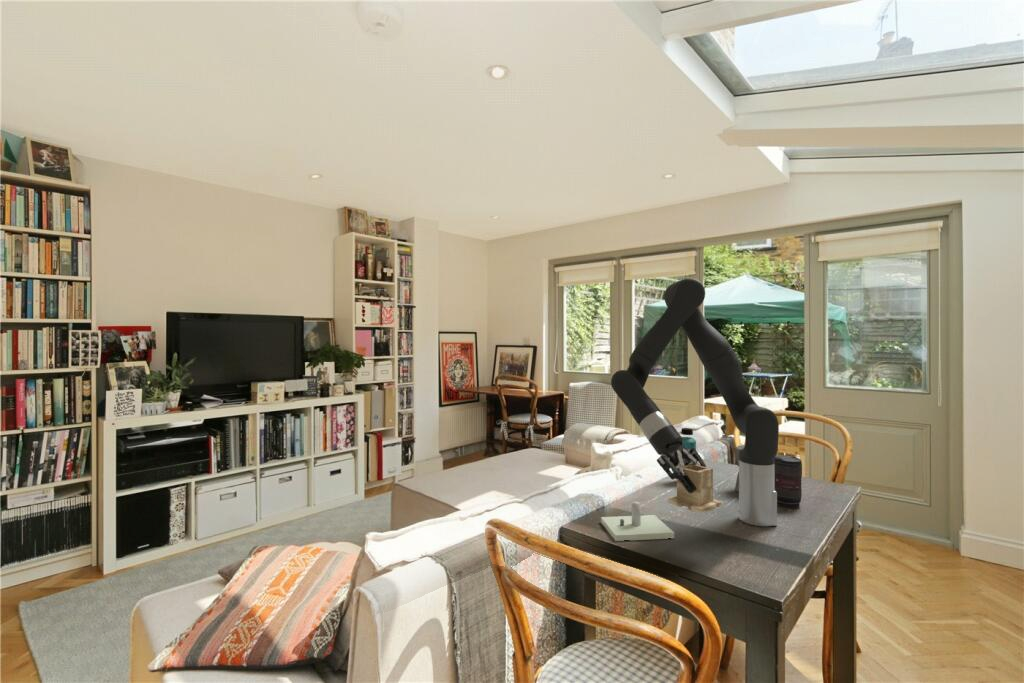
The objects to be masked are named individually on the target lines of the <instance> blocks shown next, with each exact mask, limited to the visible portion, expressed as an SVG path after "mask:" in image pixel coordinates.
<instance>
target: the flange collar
mask: <svg viewBox="0 0 1024 683" xmlns="http://www.w3.org/2000/svg"><path fill="white" fill-rule="evenodd" d="M699 465H700V464H699ZM699 465H691V464H688V465H685V466H684V469H683V470H684V471H685V472H686V475H685V476H688V477H689V478H690V480H691V481H692V483H693V484H694V485H695V487H696V490H695V491H694V492H693V493H689V492H688V491H687V490H686V489H685V487H684V486H683V485H682V483H681V482H680V481H678V480H677V479H676V496H674V497H670V498H668V499H667V503H668V504H670V505H673V506H676V507H679V508H682V507H687V510H689V511H692V512H694V513H698V514H704V513H706V512H708V511H711V510H715V509H717V508H719V507H723V501H722V500H717V499H714V469H713V467H707V466H706V467H704V466H699ZM678 471H679V472H680V470H678Z"/></svg>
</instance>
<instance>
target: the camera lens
mask: <svg viewBox="0 0 1024 683" xmlns="http://www.w3.org/2000/svg"><path fill="white" fill-rule="evenodd" d="M802 477H803V463H802V459H801V458H800V457H796V456H791V455H783V454H782V455H781V454H779V455H778V454H777V455H776V457H775V491H776V492H777V507H782V508H787V509H797V508H800V505H801V504H800V503H801V502H802V497H803V496H802V495H803V493H802Z"/></svg>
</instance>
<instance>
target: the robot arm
mask: <svg viewBox="0 0 1024 683" xmlns="http://www.w3.org/2000/svg"><path fill="white" fill-rule="evenodd" d="M705 298H706V288H705V286H704V285H703V283H702V282H701V281H700V280H698V279H696V278H691V277H688V278H684V279H680V280H678V281H675V282H673V283H672V284H670V285H668V286H667V287H666V288H665V291H664V295H663V299H664V303H665V305H666V307H667V308H666V310H664V312H663V314H662V315H661V316H660V317H659V319H658V320H657V321H656V322H655V323H654V324H653V325H652V327H651V328H649V330H648V331H647V332H646V333H645V334H644V335H643V337H642V338H641V339H640V341H639V342H638V344H637V345H636V347H635V348H634V350H633V351H632V353H631V354H630V356H629V357H628V358H629V359H628V363H629V364H628V367H627V370H626V369H619V370H617V371H616V372H615V373H613V374H612V377H611V380H610V386H611V388H612V390H613V391H614V393H615V394H616V396H618V398H619V400H620V401H621V402H622V403H623V404H624V406H625V407H627V409H628V411H629V413H630V414H631V416H632V418H633V419H634V421H635V422H636V424H638V426H639V428H640V429H641V431H642V434H643V435H644V436H645V438H646V439H647V441H648V442H649V443H650V445H651V447H652V448H653V449H654V451H655V452H656V453H657V455H659V457H658V458H657V459H656V462H657V463H658V465H659V466H660V467H661V468H662V470H663V471H664V473H666V474H667V476H668V477H669V478H670V479H671V480H676V481H677V480H678V481H680V482H681V483H682V485H683V486H684V487H685V489H686V490H687V491H688V492H689V493H693V492H694V491H695V490H696V487H695V485H694V484H693V483H692V481H691V480H690V478H689V477H688V476H685V475H686V472H685V471H684V470H683V469H684V466H685V465H688V464H689V463H690V461H691V463H690V464H691V465H699V466H704V467H707V465H706V463H705V462H704V460H703V458H702V457H701V456H700V454H699V452H698V451H697V448H696V449H695V448H693V447H692V448H691V449H686V448H685V447H684V446H683V445H682V441H683V438H682V437H683V436H682V435H681V433H679V431H678V430H677V429H676V427H675V426H674V424H672V422H671V421H670V419H668V417H667V416H666V415H665V414H664V413H663V412H662V410H661V409H660V408H659V407H658V405H657V404H656V403H655V401H654V400H653V398H651V397H650V396H649V395H648V394H647V392H646V391H645V388H644V387H645V385H646V383H647V381H648V378H649V376H650V373H651V371H652V370H653V368H654V367H655V365H656V364H657V362H658V361H659V359H660V358H661V356H662V354H663V353H664V351H665V350H666V349H667V347H668V345H669V343H671V341H672V339H673V338H674V337H675V335H676V334H677V333H678V331H680V329H681V328H682V329H683V331H684V333H685V334H686V336H687V338H688V340H689V342H690V344H691V346H692V347H693V349H694V351H695V352H696V355H697V356H698V358H699V360H700V362H701V364H702V365H703V367H704V369H705V370H706V372H707V374H708V375H709V377H710V379H712V382H713V384H714V385H715V387H716V389H717V390H718V392H719V393H720V395H721V396H722V398H723V400H724V401H725V404H726V407H727V409H728V411H729V413H730V416H731V419H732V421H733V423H734V425H735V427H736V428H737V430H738V431H740V433H742V434H743V435H745V436H744V437H745V439H744V445H745V447H744V448H743V449H741V450H740V451H739V466H738V472H739V492H738V519H739V521H741V522H743V523H745V524H748V525H752V526H756V527H771V526H772V527H773V526H774V527H775V526H778V505H777V492H776V491H775V457H776V455H778V451H779V434H780V433H779V431H780V429H779V428H780V427H779V426H780V425H779V420H778V416H777V415H776V413H775V412H773V411H772V410H771V409H769V408H766V407H763V406H759V405H758V404H757V403H756V402H755V400H754V399H753V397H752V396H751V394H750V392H749V391H748V389H747V386H746V385H745V384H746V383H745V380H744V375H743V370H742V365H741V362H740V360H739V357H738V356H737V354H736V352H735V351H734V349H733V348H732V346H731V344H730V343H729V341H728V340H727V339H726V338H725V337H724V335H722V334H721V333H720V332H719V331H718V330H717V329H716V328H715V327H714V326H712V324H710V322H708V321H707V319H706V317H705V316H704V314H703V313H702V311H701V309H700V306H702V304H703V302H704V300H705ZM678 470H680V472H679V471H678Z"/></svg>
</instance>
